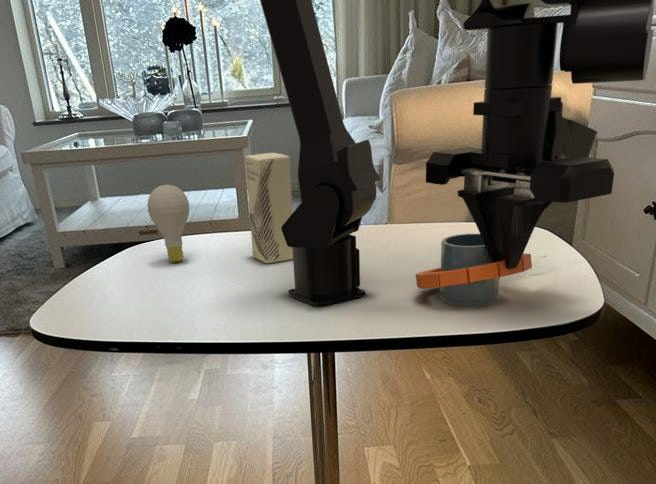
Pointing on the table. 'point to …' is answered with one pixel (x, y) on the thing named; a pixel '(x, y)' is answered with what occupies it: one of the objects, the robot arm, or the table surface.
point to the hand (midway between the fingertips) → (505, 266)
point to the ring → (469, 273)
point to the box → (269, 205)
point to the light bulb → (169, 217)
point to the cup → (463, 255)
